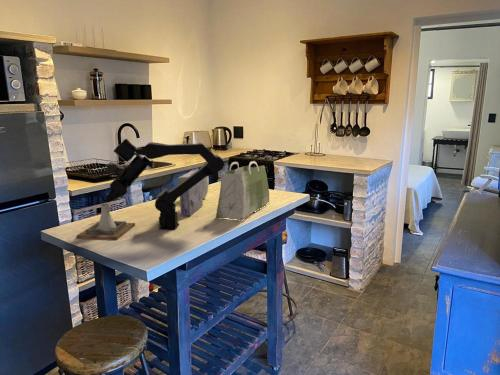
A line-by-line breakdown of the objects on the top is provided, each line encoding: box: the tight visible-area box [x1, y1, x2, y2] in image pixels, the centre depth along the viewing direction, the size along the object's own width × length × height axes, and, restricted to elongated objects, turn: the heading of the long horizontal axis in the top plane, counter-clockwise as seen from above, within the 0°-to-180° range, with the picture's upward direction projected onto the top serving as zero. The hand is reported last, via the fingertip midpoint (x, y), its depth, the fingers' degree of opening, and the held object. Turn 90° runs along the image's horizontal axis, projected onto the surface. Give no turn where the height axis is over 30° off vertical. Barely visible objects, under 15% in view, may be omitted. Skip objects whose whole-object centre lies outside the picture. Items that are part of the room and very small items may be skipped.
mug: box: [201, 176, 210, 200], centre depth 195 cm, size 15×11×13 cm
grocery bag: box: [215, 160, 270, 221], centre depth 170 cm, size 32×14×23 cm, turn 156°
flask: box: [98, 203, 116, 230], centre depth 145 cm, size 7×7×10 cm
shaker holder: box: [76, 220, 136, 240], centre depth 146 cm, size 16×16×2 cm
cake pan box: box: [177, 170, 204, 217], centre depth 171 cm, size 19×5×18 cm, turn 168°
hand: (108, 198), depth 143 cm, fingers open, 9 cm apart
